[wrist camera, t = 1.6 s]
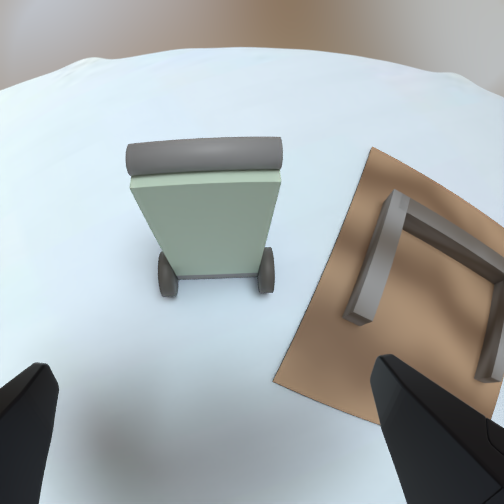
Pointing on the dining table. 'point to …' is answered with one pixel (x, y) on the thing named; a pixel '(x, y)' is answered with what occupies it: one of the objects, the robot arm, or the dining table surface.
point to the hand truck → (209, 205)
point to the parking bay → (404, 296)
